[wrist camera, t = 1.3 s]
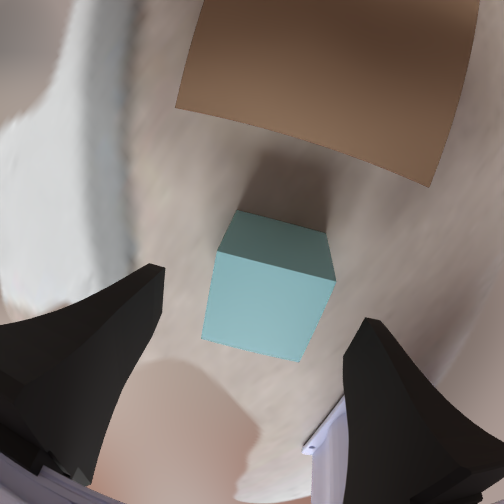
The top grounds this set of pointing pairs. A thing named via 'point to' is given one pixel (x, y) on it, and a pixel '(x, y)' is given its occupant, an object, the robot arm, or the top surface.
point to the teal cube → (268, 287)
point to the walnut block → (337, 73)
